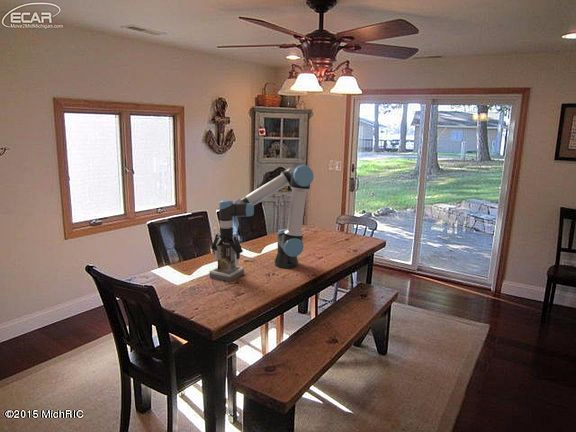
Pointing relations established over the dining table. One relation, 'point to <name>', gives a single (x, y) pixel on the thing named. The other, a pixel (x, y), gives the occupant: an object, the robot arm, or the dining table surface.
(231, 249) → the coffee box
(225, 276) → the grey square tray
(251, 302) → the dining table surface
